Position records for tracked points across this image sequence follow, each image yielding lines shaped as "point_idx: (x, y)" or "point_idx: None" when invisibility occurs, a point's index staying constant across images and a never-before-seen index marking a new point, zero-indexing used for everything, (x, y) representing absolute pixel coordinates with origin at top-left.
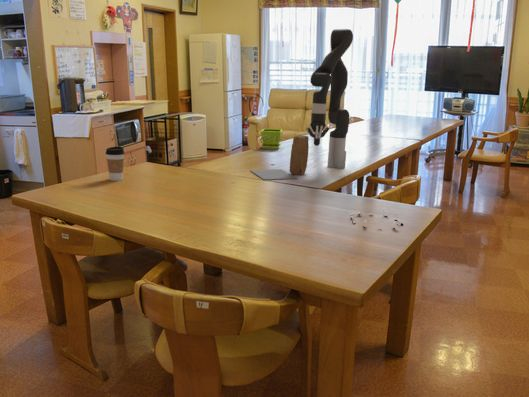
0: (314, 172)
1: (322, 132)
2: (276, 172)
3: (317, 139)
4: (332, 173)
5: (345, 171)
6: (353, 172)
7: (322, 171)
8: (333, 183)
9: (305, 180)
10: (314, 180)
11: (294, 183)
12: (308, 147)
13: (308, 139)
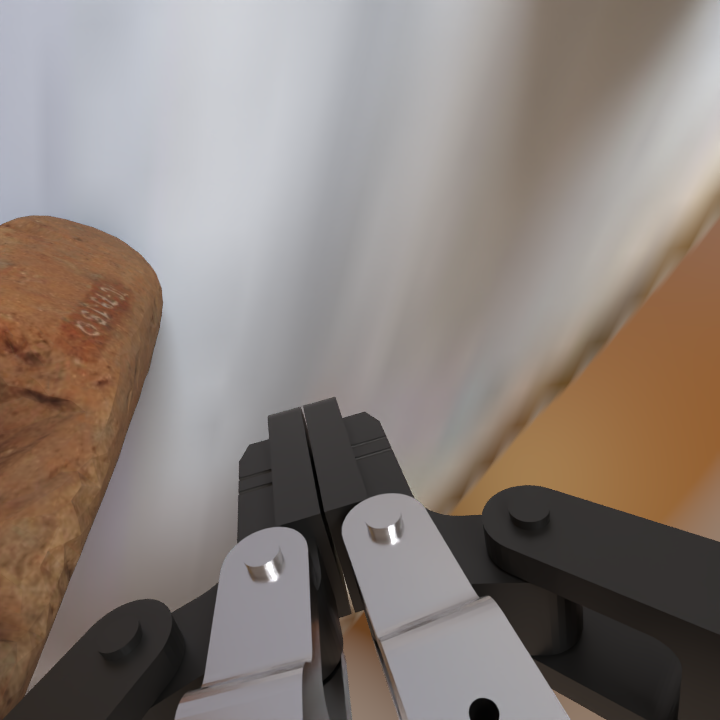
0: (284, 221)
1: (673, 637)
2: None
3: (335, 599)
4: (474, 261)
5: (657, 141)
6: (710, 192)
7: (396, 154)
8: (354, 617)
9: (138, 573)
10: (221, 561)
11: (34, 674)
12: (111, 473)
13: (27, 680)
